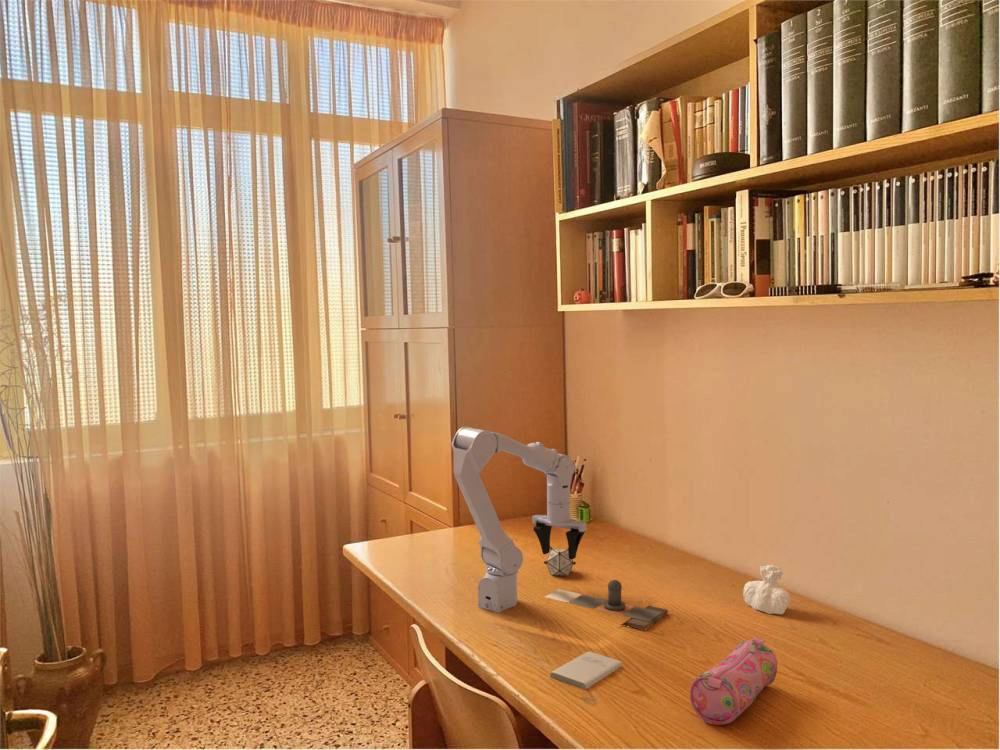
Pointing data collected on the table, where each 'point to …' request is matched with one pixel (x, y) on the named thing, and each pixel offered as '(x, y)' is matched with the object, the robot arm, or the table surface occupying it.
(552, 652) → the table surface
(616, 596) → the pawn
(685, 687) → the table surface
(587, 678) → the external hard drive
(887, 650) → the table surface
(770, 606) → the bust
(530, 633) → the table surface
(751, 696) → the pencil case
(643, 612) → the board
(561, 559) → the game die
